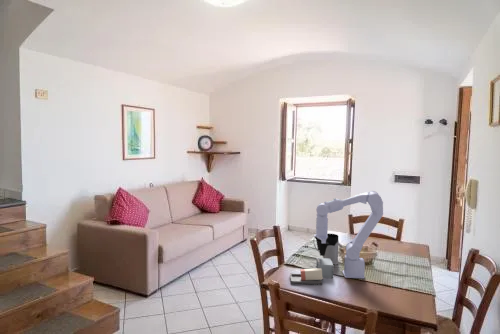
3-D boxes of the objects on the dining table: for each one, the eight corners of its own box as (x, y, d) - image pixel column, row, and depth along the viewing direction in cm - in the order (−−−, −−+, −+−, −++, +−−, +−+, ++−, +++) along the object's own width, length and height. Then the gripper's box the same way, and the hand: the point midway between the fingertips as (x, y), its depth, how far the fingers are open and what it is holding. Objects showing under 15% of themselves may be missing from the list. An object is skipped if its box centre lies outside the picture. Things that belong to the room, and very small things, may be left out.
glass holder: (338, 265, 174) (339, 238, 172) (311, 262, 178) (312, 235, 177) (339, 259, 182) (340, 234, 181) (313, 256, 186) (314, 231, 185)
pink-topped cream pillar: (321, 277, 155) (321, 268, 154) (322, 279, 152) (321, 270, 152) (301, 278, 155) (300, 269, 155) (301, 280, 153) (300, 271, 153)
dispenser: (329, 270, 167) (330, 257, 166) (333, 277, 158) (333, 264, 157) (316, 270, 167) (316, 256, 166) (318, 277, 158) (319, 263, 157)
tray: (318, 277, 158) (319, 274, 158) (321, 285, 149) (321, 282, 149) (290, 276, 159) (290, 273, 159) (291, 284, 150) (291, 281, 150)
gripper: (312, 223, 171) (311, 247, 172) (315, 230, 157) (315, 257, 158) (325, 223, 170) (324, 248, 172) (330, 231, 156) (329, 258, 157)
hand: (321, 252), depth 165 cm, fingers open, 7 cm apart
